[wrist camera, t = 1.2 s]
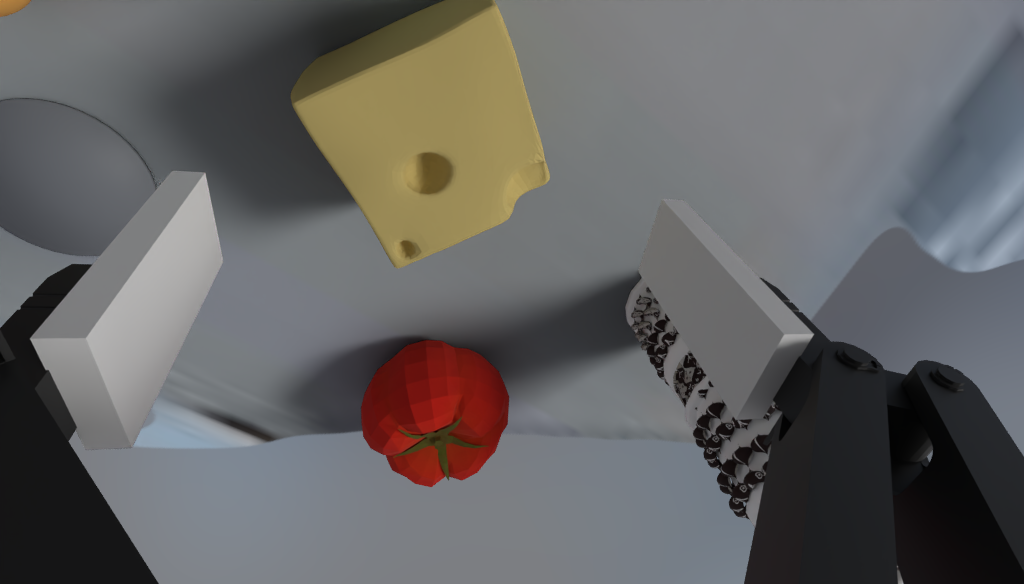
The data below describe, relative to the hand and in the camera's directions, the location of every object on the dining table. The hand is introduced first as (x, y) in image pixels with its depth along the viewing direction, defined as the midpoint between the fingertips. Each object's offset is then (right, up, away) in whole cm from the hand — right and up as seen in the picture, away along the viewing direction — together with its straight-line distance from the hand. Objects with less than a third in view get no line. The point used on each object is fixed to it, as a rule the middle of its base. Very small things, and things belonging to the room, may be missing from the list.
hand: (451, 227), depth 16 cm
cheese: (-4, +10, +18) cm, 21 cm away
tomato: (-5, -9, +31) cm, 32 cm away
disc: (-25, +5, +16) cm, 30 cm away
